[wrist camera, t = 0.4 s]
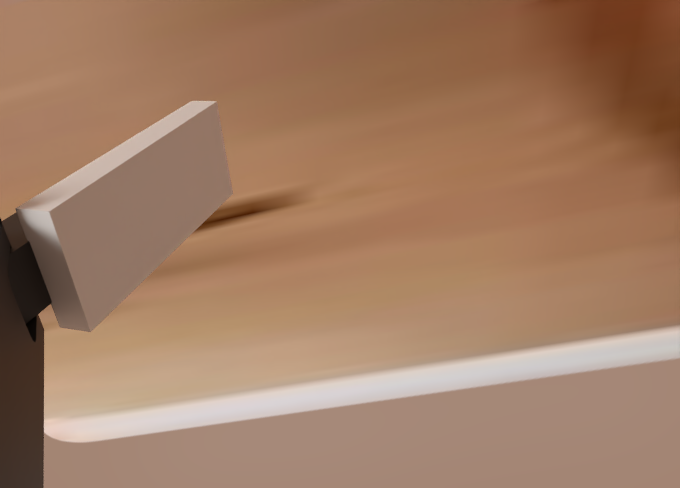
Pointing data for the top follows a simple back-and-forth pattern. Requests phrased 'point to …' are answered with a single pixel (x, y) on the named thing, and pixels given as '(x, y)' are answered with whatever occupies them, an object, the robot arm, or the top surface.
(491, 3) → the top surface
